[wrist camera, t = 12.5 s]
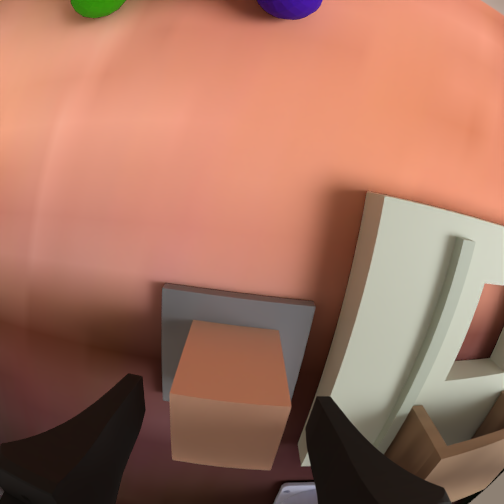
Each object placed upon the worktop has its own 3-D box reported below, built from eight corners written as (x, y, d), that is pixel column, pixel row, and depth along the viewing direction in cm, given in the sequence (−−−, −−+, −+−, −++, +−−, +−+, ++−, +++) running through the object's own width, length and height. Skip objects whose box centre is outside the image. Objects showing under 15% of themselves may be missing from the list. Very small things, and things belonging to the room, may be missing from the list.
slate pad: (285, 407, 17) (286, 414, 16) (165, 393, 16) (162, 400, 16) (313, 301, 15) (315, 306, 14) (165, 282, 14) (162, 288, 14)
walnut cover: (464, 454, 17) (484, 488, 13) (368, 475, 16) (383, 522, 12) (507, 389, 15) (537, 424, 11) (411, 406, 14) (441, 459, 10)
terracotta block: (265, 392, 15) (270, 470, 10) (189, 384, 15) (172, 459, 10) (278, 329, 14) (291, 406, 9) (193, 319, 14) (169, 393, 9)
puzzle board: (499, 415, 18) (512, 431, 16) (297, 443, 18) (302, 473, 15) (571, 249, 14) (592, 259, 12) (366, 190, 13) (391, 197, 11)
